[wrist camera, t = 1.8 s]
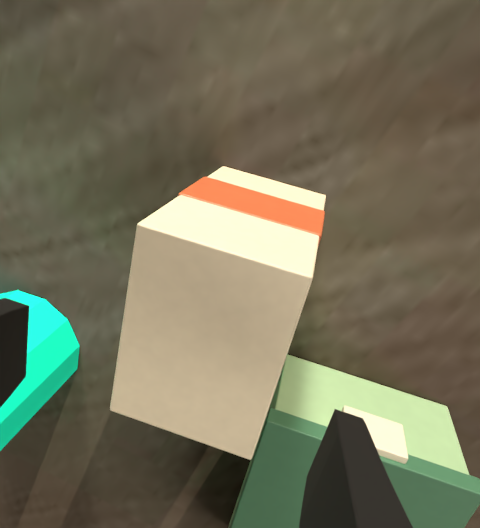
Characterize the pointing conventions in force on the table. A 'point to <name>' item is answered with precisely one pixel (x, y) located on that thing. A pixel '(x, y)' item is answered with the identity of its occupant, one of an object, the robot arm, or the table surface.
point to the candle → (39, 363)
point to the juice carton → (216, 306)
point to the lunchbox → (384, 437)
